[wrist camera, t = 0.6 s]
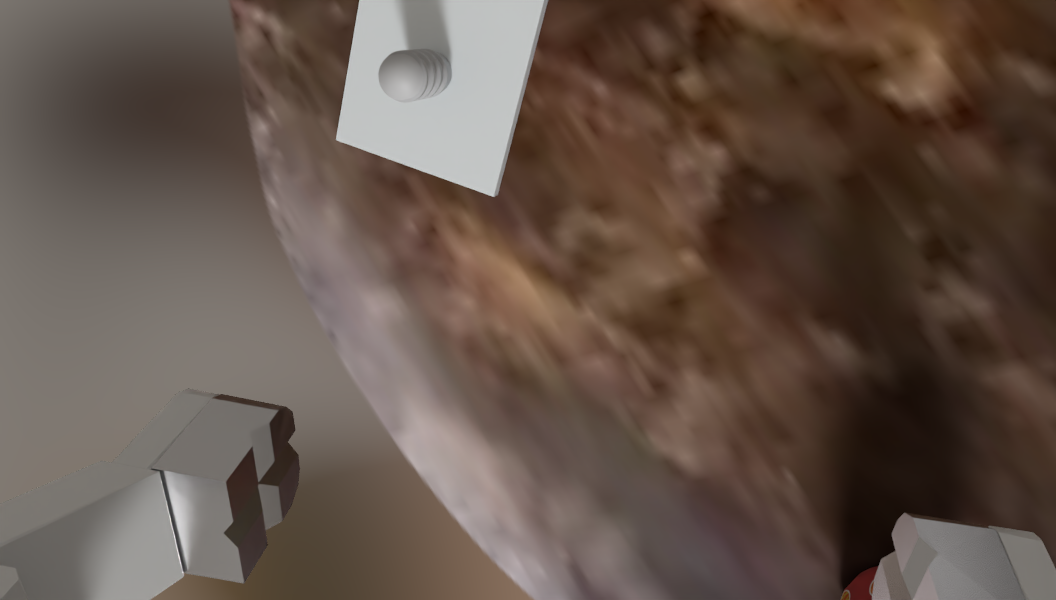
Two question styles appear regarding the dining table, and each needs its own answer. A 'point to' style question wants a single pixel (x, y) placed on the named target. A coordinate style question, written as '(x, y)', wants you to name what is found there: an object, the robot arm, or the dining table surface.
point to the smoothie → (861, 586)
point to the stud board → (440, 84)
